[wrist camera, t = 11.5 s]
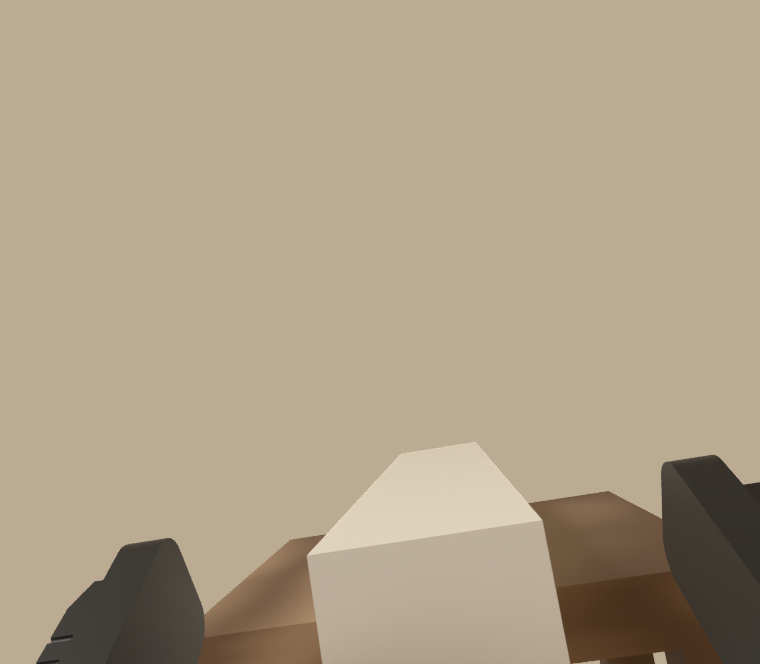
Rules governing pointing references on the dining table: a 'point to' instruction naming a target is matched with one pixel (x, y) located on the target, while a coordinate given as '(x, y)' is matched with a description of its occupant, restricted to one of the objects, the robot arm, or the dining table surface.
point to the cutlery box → (437, 570)
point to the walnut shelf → (571, 577)
